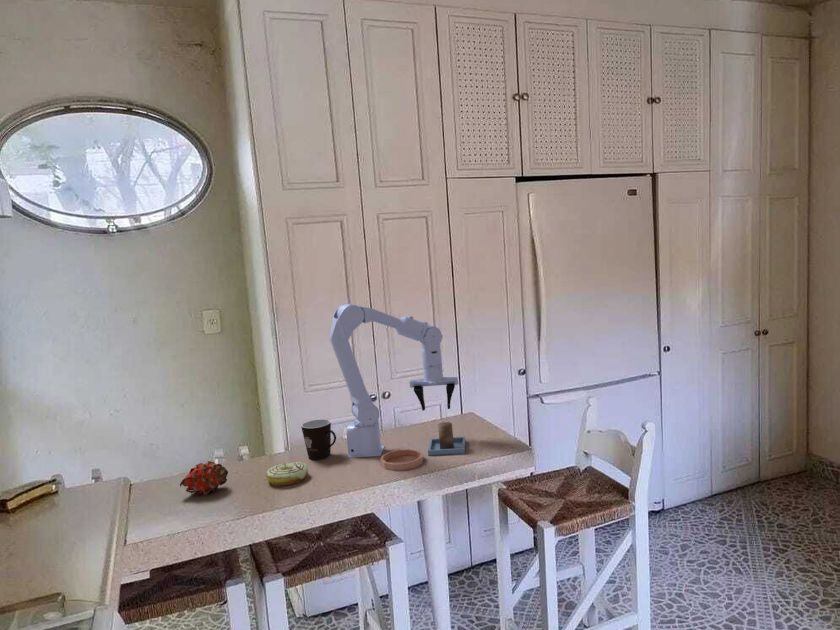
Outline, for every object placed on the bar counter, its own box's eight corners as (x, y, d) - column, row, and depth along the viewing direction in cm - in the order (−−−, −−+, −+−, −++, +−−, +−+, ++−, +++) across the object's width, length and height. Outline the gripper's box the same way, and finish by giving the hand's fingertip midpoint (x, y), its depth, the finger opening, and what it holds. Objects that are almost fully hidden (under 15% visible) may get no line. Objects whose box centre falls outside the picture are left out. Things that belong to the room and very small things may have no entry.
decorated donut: (311, 482, 151) (309, 468, 150) (269, 491, 147) (267, 477, 147) (305, 469, 160) (303, 456, 160) (265, 477, 157) (264, 464, 156)
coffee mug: (301, 455, 172) (298, 423, 171) (329, 449, 175) (326, 417, 174) (311, 467, 161) (307, 432, 160) (341, 460, 165) (337, 426, 164)
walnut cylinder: (439, 450, 163) (437, 426, 163) (441, 445, 167) (439, 422, 167) (453, 450, 163) (451, 426, 162) (454, 445, 167) (452, 421, 166)
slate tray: (428, 457, 161) (427, 450, 161) (431, 444, 171) (430, 438, 171) (464, 455, 160) (464, 448, 160) (465, 442, 170) (464, 436, 170)
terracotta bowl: (378, 472, 153) (377, 465, 152) (384, 457, 164) (384, 450, 164) (421, 470, 151) (420, 463, 151) (424, 454, 163) (424, 448, 163)
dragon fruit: (234, 493, 152) (187, 509, 148) (228, 467, 157) (183, 482, 154) (227, 475, 146) (178, 492, 142) (222, 449, 151) (174, 464, 148)
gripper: (407, 369, 170) (411, 414, 171) (456, 365, 168) (459, 411, 170) (409, 364, 177) (413, 407, 178) (456, 361, 175) (460, 404, 177)
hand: (436, 408), depth 175 cm, fingers open, 7 cm apart
